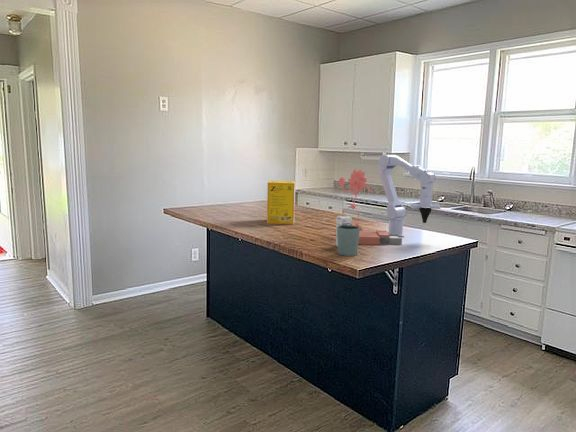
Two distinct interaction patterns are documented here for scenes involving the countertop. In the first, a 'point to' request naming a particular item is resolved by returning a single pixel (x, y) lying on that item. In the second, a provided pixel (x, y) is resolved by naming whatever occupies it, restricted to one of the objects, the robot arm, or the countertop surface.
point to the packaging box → (280, 202)
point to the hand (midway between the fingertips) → (424, 222)
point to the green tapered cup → (348, 239)
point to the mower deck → (378, 238)
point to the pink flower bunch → (355, 186)
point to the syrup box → (342, 223)
